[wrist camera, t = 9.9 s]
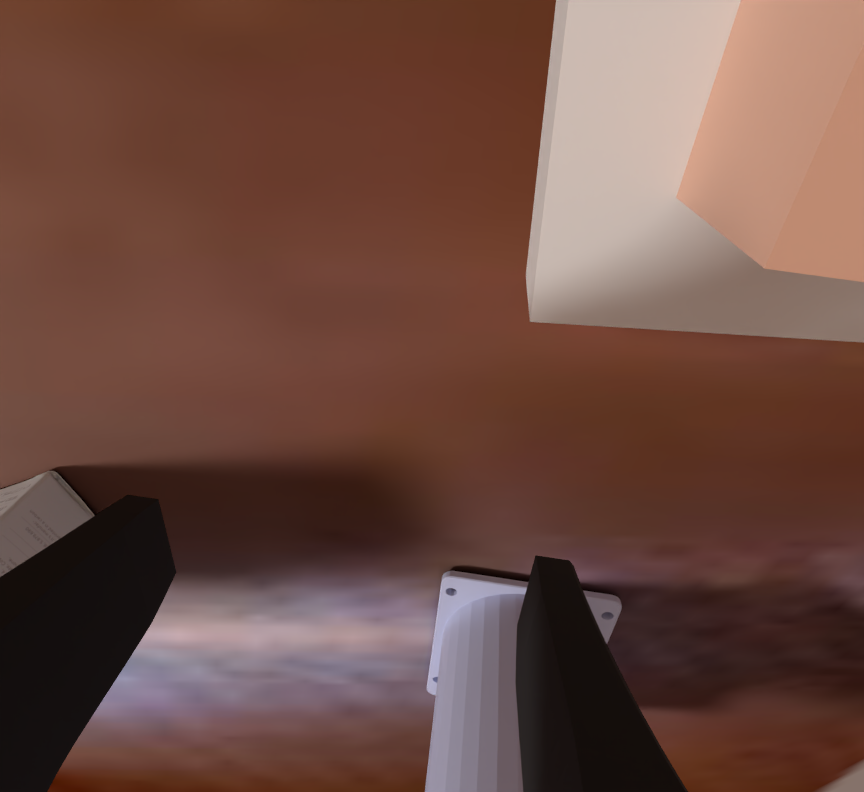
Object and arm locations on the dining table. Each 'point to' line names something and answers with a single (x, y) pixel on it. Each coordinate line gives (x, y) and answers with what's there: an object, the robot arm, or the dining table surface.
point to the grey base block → (650, 187)
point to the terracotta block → (787, 138)
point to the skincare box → (37, 517)
